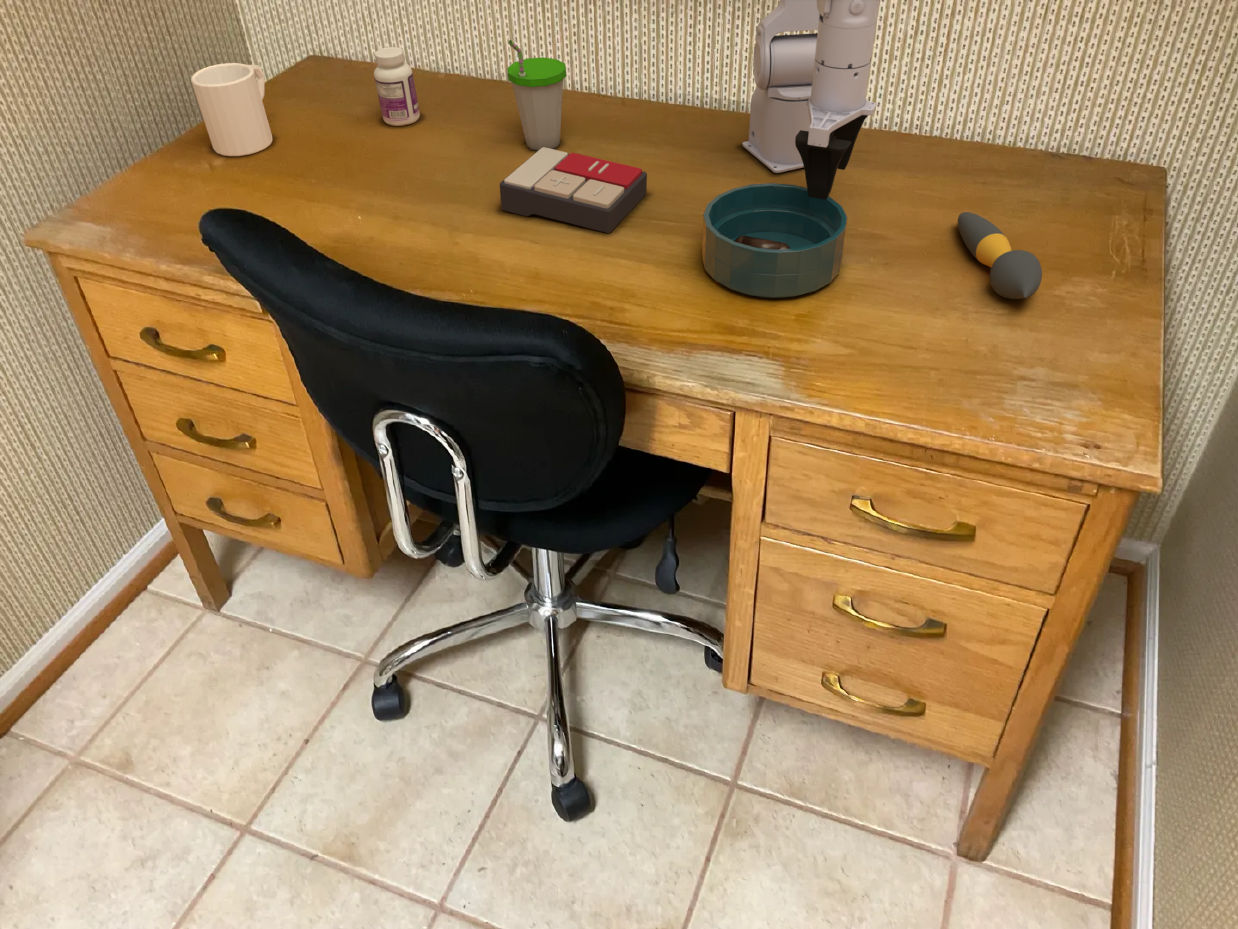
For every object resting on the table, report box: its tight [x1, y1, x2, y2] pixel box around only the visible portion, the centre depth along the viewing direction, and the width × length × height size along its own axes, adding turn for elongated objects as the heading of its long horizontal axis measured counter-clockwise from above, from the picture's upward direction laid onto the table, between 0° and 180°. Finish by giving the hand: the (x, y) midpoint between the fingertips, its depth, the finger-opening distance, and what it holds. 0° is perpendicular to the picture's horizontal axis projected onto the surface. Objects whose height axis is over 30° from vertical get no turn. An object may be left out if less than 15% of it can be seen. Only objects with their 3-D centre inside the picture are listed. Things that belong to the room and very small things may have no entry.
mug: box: [190, 62, 273, 157], centre depth 135 cm, size 8×12×10 cm
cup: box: [507, 39, 567, 152], centre depth 129 cm, size 8×8×15 cm
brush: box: [734, 235, 790, 250], centre depth 107 cm, size 9×3×2 cm, turn 66°
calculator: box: [499, 147, 648, 234], centre depth 119 cm, size 11×4×15 cm
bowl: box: [701, 182, 848, 299], centre depth 107 cm, size 15×15×6 cm
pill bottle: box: [373, 46, 421, 127], centre depth 138 cm, size 5×5×10 cm
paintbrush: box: [957, 211, 1043, 300], centre depth 105 cm, size 20×5×5 cm, turn 10°
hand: (827, 181), depth 109 cm, fingers open, 7 cm apart
